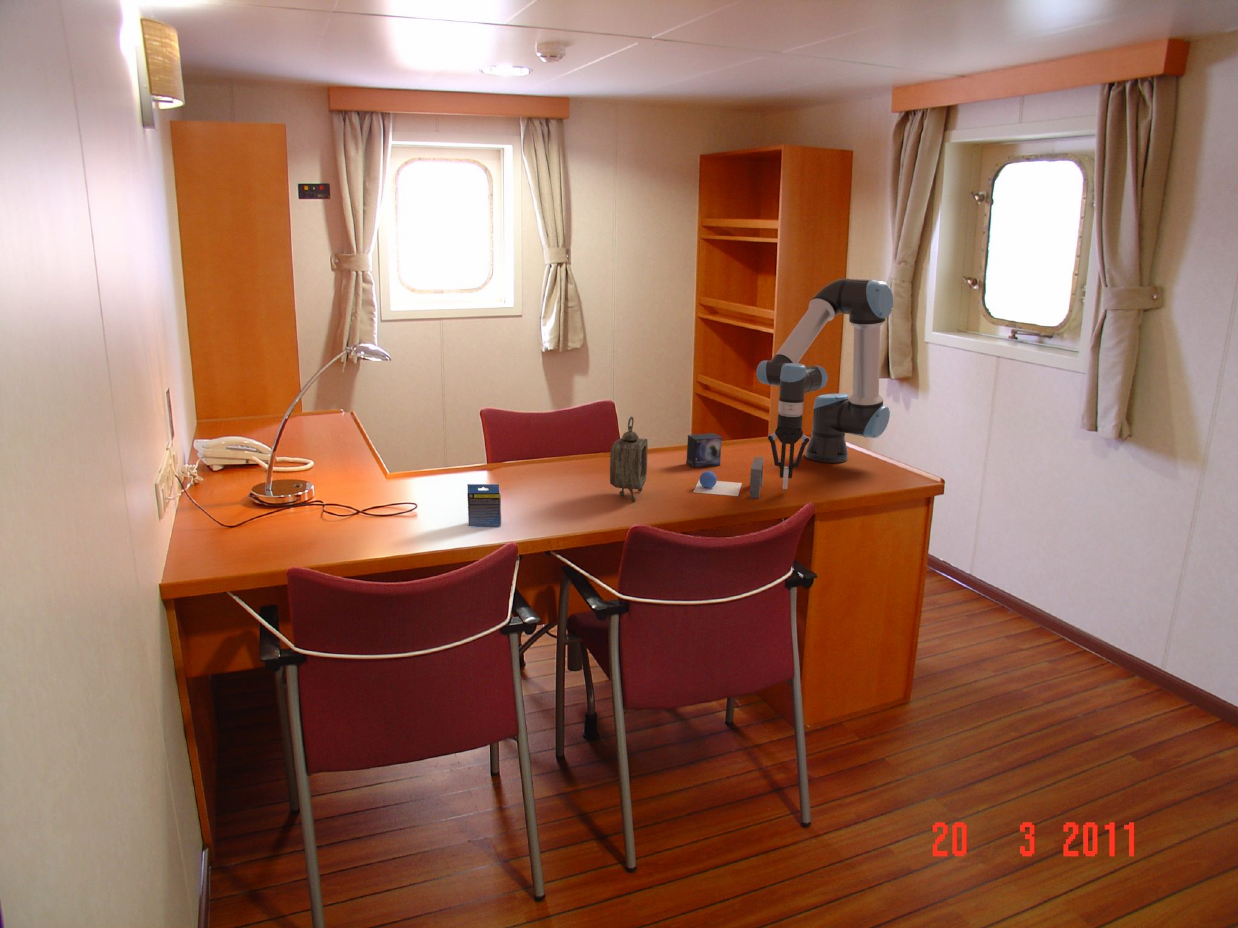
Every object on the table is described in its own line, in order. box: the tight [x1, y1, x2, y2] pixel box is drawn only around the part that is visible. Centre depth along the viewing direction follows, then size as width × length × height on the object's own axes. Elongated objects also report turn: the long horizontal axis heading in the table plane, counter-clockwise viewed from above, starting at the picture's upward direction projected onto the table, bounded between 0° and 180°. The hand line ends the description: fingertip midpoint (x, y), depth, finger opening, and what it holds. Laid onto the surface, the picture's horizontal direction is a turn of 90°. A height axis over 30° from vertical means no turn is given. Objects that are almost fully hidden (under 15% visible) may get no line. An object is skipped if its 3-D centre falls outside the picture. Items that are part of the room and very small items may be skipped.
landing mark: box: [692, 479, 743, 497], centre depth 285 cm, size 14×14×1 cm
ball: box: [699, 470, 718, 488], centre depth 284 cm, size 6×6×6 cm
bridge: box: [748, 456, 765, 499], centre depth 281 cm, size 3×14×9 cm, turn 168°
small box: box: [685, 432, 723, 469], centre depth 310 cm, size 11×6×10 cm, turn 112°
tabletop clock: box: [609, 416, 648, 503], centre depth 272 cm, size 14×9×25 cm, turn 168°
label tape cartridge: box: [466, 483, 502, 527], centre depth 246 cm, size 9×4×12 cm, turn 92°
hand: (785, 487), depth 280 cm, fingers closed
